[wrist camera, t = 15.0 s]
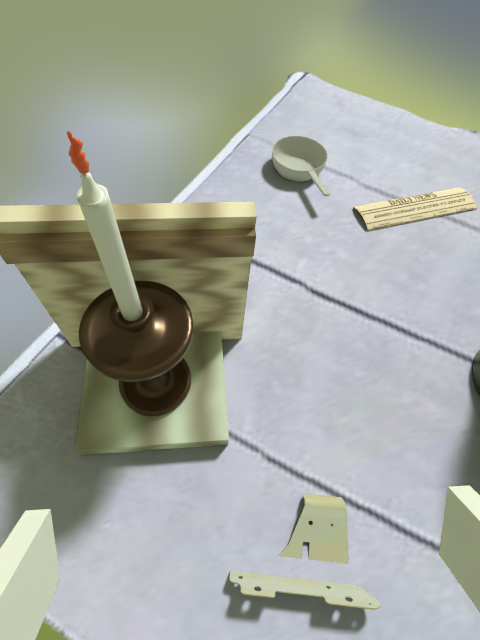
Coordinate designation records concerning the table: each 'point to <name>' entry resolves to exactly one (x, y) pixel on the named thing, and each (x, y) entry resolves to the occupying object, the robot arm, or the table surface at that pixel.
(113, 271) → the candlestick
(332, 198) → the table surface
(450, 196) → the newspaper
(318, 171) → the small pan
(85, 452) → the pale wooden blocky structure
